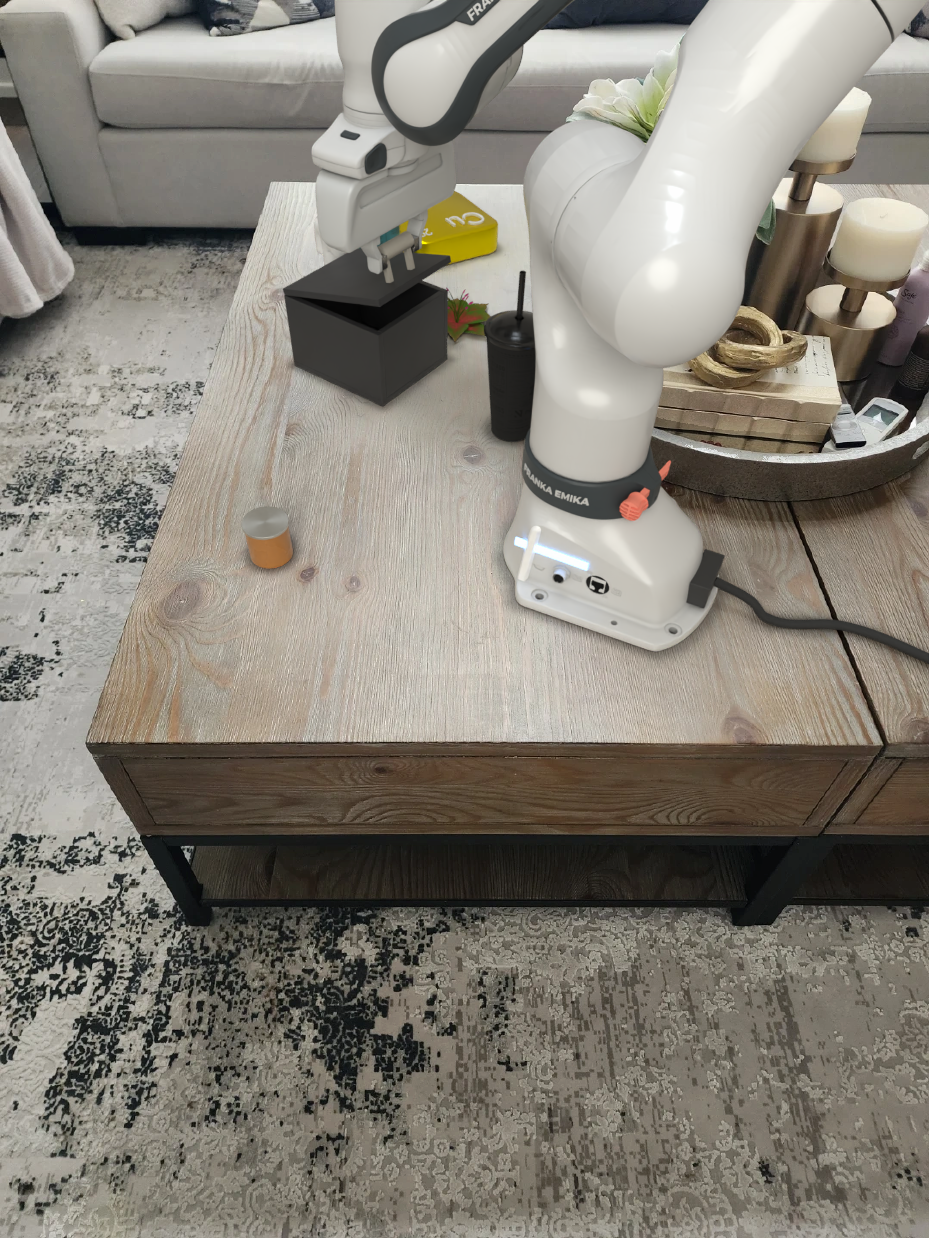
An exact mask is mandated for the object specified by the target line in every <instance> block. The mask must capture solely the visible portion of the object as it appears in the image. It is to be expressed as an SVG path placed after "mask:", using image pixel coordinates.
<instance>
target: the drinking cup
mask: <svg viewBox="0 0 929 1238" xmlns="http://www.w3.org/2000/svg"><path fill="white" fill-rule="evenodd" d="M526 278H527V271H525V270H520V271H519V273H518V287H517V288H518V289H517V302H516V303H517V304H516V310H515V309H513V310H505V311H501V312H497V313H495V314H493V315H490V316H491V317H490V318H489V319H488V320H487V321H484V322H485V323H484V324H483V325H484V334H485V336H484V337H485V338H486V354H487V371H488V372H487V374H488V390H489V391H488V392H489V409H490V426H491V427H490V428H491V429H490V430H491V433H492V434H493V436H494V437H495V438H497V439H499V440H500V441H504V442H507V443H510V442H511V443H515V442H516V443H517V442H521V441H525V438H526V435H527V432H528V431H529V429H530V428H531V417H532V406H533V396H534V385H535V368H536V353H535V336H534V325H533V312H532V311H528V310H524V304H525V291H526Z"/></svg>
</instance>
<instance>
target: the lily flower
mask: <svg viewBox="0 0 929 1238" xmlns="http://www.w3.org/2000/svg"><path fill="white" fill-rule="evenodd" d="M445 289H446V290H448V294H449V295H450V297H451V298H450V297H448V335H449V336H450V337H451V338H452V339H453V342H454V343H456V342H457V341H458V339H459V338H460V336H461V335H463V334H464V333H466V334H471V335H472V334H473V335H477V336H483V337H486V336H485V334H484V325H485V324H483V322H486V321H487V320H488V319H489V318H490V317H491V316H492V315H490V314H489V313H488V312H486V310H487V308H488V305H489V303H479V302H474V301H470V302H468V301H467V300H468V299H469V297H470V296H469V295H470V293H469V292H468V293H466V294H465V295H464V293H465V292H466V289H464V290H463V291H462V294H461V296H460V298H458V297H457V298H454V297H453V295H452V293H451V292H450V289H449V288H448V287H445ZM457 289H458V286H457ZM463 295H464V296H463Z"/></svg>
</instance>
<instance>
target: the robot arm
mask: <svg viewBox="0 0 929 1238" xmlns="http://www.w3.org/2000/svg"><path fill="white" fill-rule="evenodd" d="M574 1H575V0H334V15H335V16H334V21H335V35H336V46H337V53H338V56H339V60H340V62H341V65H342V71H343V88H342V96H341V99H342V109H343V110H342V111H341V112H340V113H339V114H338V116H337V117H336V118H335V120H334V121H333V122H332V123H331V125H330V126H329V127H328V128H327V129H326V131H324V132H323V134H322V135H321V136H320V137H319V138H318V139H317V140H316V141H314V143H313V145H312V147H311V159H312V163H313V165H314V166H315V167H318V168H321V169H320V170H319V172H318V174H317V176H316V180H315V205H316V217H318V225H319V231H320V236H321V238H322V240H323V241H324V242H325V243H326V245H328V246H329V247H331V248H334V249H336V250H339V251H342V252H345V253H351V252H353V251H354V250H356V249H358V248H360V247H361V249H362V250H363V252H364V253H365V255H366V256H367V262H368V269H369V270H370V271H371V272H373V273H376V274H379V273H381V272H383V271H384V270H386V269H387V268H388V264H387V255H385V254H381V253H380V251H379V249H378V247H377V245H379V244H380V236H381V235H383V234H385V233H386V232H388V231H390V230H392V229H394V228H395V227H397V226H399V225H401V224H402V223H404V222H406V221H408V220H409V221H408V226H407V232H409V233H411V235H412V236H413V239H414V244H413V246H412V247H411V250H412V253H414V252H416V251H417V250H419V249H421V248H422V233H423V230H424V227H425V224H426V221H427V218H428V209H429V208H431V207H433V206H434V205H436V204H438V203H440V202H442V201H443V200H445V199H447V198H449V197H451V196H452V195H453V193H454V191H456V186H457V184H458V183H457V182H458V181H457V179H458V177H457V164H456V154H455V147H454V139H456V138H457V137H458V136H459V135H461V134H462V132H463V131H464V130H465V129H466V128H467V126H468V125H469V124H470V123H471V122H472V120H473V119H474V118H475V117H476V116H477V115H478V114H479V113H480V112H481V111H482V110H483V109H484V108H486V107H487V106H488V105H489V104H490V103H491V102H492V101H493V100H494V99H495V98H496V97H497V96H498V95H499V94H500V93H501V92H503V90H505V89H506V87H507V86H508V85H509V84H510V83H511V81H513V79H514V78H515V76H516V75H517V73H518V71H519V69H520V66H521V63H522V60H523V55H524V48H525V47H524V45H525V44H526V43H527V42H529V41H530V40H531V39H532V38H533V37H534V36H536V34H538V32H540V31H541V30H542V29H543V28H544V27H545V26H547V24H549V23H550V22H551V21H552V20H553V19H554V18H556V16H558V15H559V14H560V13H561V12H562V11H563V10H564V9H566V8H567V7H568V6H569V5H570V4H572V3H573V2H574ZM928 1H929V0H708V1H707V2H706V4H705V5H704V7H703V8H702V9H701V10H700V12H699V13H697V15H696V16H695V19H694V20H693V21H692V22H691V24H690V25H689V26H688V27H687V30H686V32H685V33H684V35H683V37H682V40H681V41H680V45H679V49H678V55H677V65H676V73H675V78H674V81H673V84H672V88H671V90H670V93H669V95H668V98H667V100H666V103H665V105H664V108H663V110H662V112H661V114H660V116H659V118H658V120H657V122H656V124H655V126H654V128H653V131H652V133H651V134H650V136H649V138H648V140H647V141H646V143H645V142H644V141H643V140H642V139H641V138H640V137H638V136H637V135H635V134H634V133H633V132H630V131H628V130H626V129H623V128H621V127H619V126H616V125H613V124H610V123H608V122H603V121H600V120H595V119H577V120H573V121H570V122H567V123H565V124H563V125H561V126H559V127H557V128H555V129H554V130H553V131H552V132H550V133H549V134H548V135H546V137H545V138H544V139H543V140H542V141H541V142H540V143H539V144H538V146H537V147H536V148H535V150H534V152H533V153H532V155H531V157H530V159H529V161H528V163H527V166H526V168H525V172H524V177H523V183H522V185H523V186H522V195H523V203H524V210H525V215H526V222H527V229H528V241H529V242H528V245H529V246H528V247H529V273H530V275H529V277H530V295H531V309H532V311H531V312H532V313H533V325H534V336H535V353H536V368H535V385H534V396H533V406H532V417H531V428H530V429H529V431H528V432H527V435H526V438H525V439H524V445H523V453H522V462H521V475H522V479H523V483H522V488H521V493H520V497H519V501H518V505H517V509H516V512H515V514H514V518H513V520H512V522H511V525H510V527H509V529H508V531H507V532H506V535H505V537H504V540H503V547H502V553H503V559H504V561H505V564H506V566H507V568H508V570H509V572H510V574H511V575H512V577H513V580H514V597H515V600H516V602H517V603H518V605H520V606H522V607H525V608H527V609H530V610H533V611H536V612H539V613H542V614H545V615H548V616H550V617H552V618H556V619H558V620H562V621H564V622H568V623H570V624H573V625H576V626H578V627H582V628H584V629H587V630H590V631H593V632H595V633H599V634H601V635H604V636H607V637H610V638H613V639H616V640H619V641H621V642H623V643H627V644H630V645H633V646H635V647H637V648H642V649H643V650H647V651H651V652H660V651H664V650H668V649H670V648H671V647H674V646H676V645H678V644H680V643H681V642H682V641H684V640H685V639H687V638H688V637H689V636H690V635H691V634H692V633H694V631H695V630H696V629H697V628H698V627H699V626H700V625H701V623H703V621H704V620H705V618H706V617H707V616H708V614H709V612H710V611H711V609H712V606H713V605H714V603H715V601H716V597H717V595H718V590H721V591H723V592H725V593H727V594H729V595H731V596H733V597H735V598H737V599H739V600H740V601H742V602H744V603H745V604H746V605H748V606H749V607H750V608H751V609H752V611H753V613H754V614H755V615H756V617H757V618H758V619H759V620H760V621H761V622H763V623H766V624H768V625H770V626H773V627H777V628H782V629H787V630H789V629H790V630H834V631H836V630H837V631H842V632H845V633H846V632H847V633H850V634H855V635H858V636H860V637H863V638H867V639H870V640H872V641H876V642H878V643H880V644H883V645H885V646H888V647H890V648H892V649H894V650H897V651H899V652H901V653H903V654H906V655H908V656H909V657H912V658H914V659H915V660H918V661H921V662H923V663H924V664H925V663H926V664H927V665H929V652H927V651H925V650H923V649H921V648H918V647H916V646H913V645H912V644H910V643H908V642H905V641H903V640H901V639H899V638H896V637H894V636H891V635H889V634H887V633H884V632H881V631H880V630H877V629H875V628H874V629H873V628H870V627H867V626H865V625H861V624H857V623H855V622H854V623H853V622H849V621H845V620H839V619H826V618H824V619H823V618H816V619H815V618H814V619H811V618H810V619H809V618H808V619H792V618H791V619H790V618H784V617H780V616H776V615H773V614H771V613H769V612H768V611H766V610H765V608H764V607H763V605H762V603H760V601H759V600H758V599H757V598H756V597H754V596H753V595H752V594H751V593H749V592H747V591H746V590H745V589H743V588H741V587H739V586H736V585H735V584H732V583H730V582H728V581H726V580H724V579H722V578H720V571H721V568H722V565H723V563H724V560H725V557H726V555H725V554H722V553H720V552H716V551H714V550H710V549H707V548H705V549H704V541H703V536H702V533H701V530H700V529H699V527H698V526H697V524H695V523H694V521H693V520H692V519H691V518H690V517H689V516H688V515H687V514H686V513H685V512H684V511H683V510H682V508H681V507H680V506H679V505H678V502H677V501H676V499H675V498H673V497H672V496H671V495H669V493H668V492H667V491H666V490H665V489H664V487H663V486H662V481H664V479H665V478H666V477H667V476H668V474H669V472H670V467H671V463H672V461H671V460H668V461H667V462H666V463H665V464H664V465H663V466H662V467H661V469H658V468H657V465H656V462H655V458H654V453H653V449H652V446H651V441H652V438H653V437H652V436H653V432H654V428H655V423H656V419H657V415H658V410H659V406H660V402H661V397H662V392H663V388H664V382H665V381H664V378H665V377H664V375H665V373H664V369H668V368H673V367H677V366H680V365H683V364H685V363H688V362H690V361H692V360H694V359H697V358H698V357H700V356H701V355H702V354H704V353H705V352H707V351H709V349H711V348H712V347H713V346H714V345H715V344H717V342H718V341H720V340H721V338H722V337H723V336H724V335H725V334H726V333H727V332H728V330H729V328H730V327H731V325H732V324H733V322H734V321H735V319H736V317H737V315H738V313H739V310H740V308H741V306H742V302H743V299H744V293H745V283H746V268H747V261H748V258H749V257H748V256H749V253H750V249H751V246H752V243H753V241H754V238H755V235H756V233H757V231H758V228H759V225H760V223H761V221H762V219H763V218H764V215H765V213H766V210H767V209H768V207H769V205H770V203H771V201H772V198H774V195H775V193H776V191H777V189H778V187H779V186H780V185H781V182H782V180H783V179H784V177H785V176H786V174H787V172H788V171H789V169H790V167H791V166H792V164H793V163H794V161H796V158H797V157H798V155H800V153H801V151H802V150H803V148H804V147H805V146H806V144H808V142H809V141H810V139H811V138H812V137H813V136H814V134H815V133H816V132H817V131H818V130H819V128H821V126H822V125H823V124H824V123H825V122H826V120H827V119H828V118H829V117H830V116H831V114H832V113H833V112H834V111H835V110H836V109H837V107H838V106H839V105H840V104H841V103H842V101H843V100H844V99H845V98H846V97H847V96H848V94H850V93H851V91H852V90H853V89H854V88H855V87H856V86H857V84H858V83H859V82H860V81H861V80H862V79H863V77H864V76H865V75H866V74H867V73H868V72H869V70H870V69H871V68H872V67H873V66H874V65H875V63H876V62H877V61H878V60H879V59H880V58H881V56H882V55H883V54H884V53H885V52H886V51H887V50H888V49H889V48H890V47H891V45H893V43H894V42H895V41H896V40H897V38H898V37H899V36H900V35H901V34H902V33H903V32H904V30H905V29H906V28H907V27H908V26H909V25H910V23H911V22H912V21H913V20H914V19H915V17H916V16H917V15H918V14H919V13H920V12H921V10H923V7H924V6H925V5H926V4H927V3H928Z"/></svg>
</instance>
